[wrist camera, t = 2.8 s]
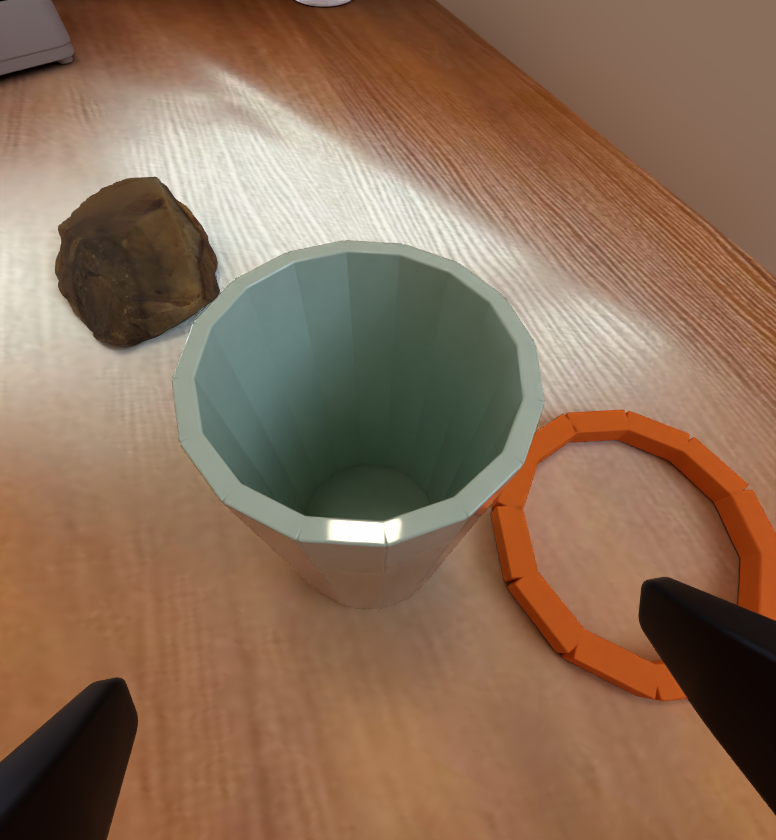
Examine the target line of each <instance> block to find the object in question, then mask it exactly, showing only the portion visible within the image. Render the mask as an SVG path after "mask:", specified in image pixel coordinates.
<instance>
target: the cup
mask: <svg viewBox="0 0 776 840" xmlns="http://www.w3.org/2000/svg"><path fill="white" fill-rule="evenodd" d="M172 387H173V396H174V404H175V412H176V421H177V429H178V437H179V442H180V444H181V447H182V448H183V450H184V451H185V453H186V454H187V455H188V457H189V458H190V460H191V461H192V462H193V464H194V465H195V466H196V468H197V469H198V471H199V472H200V473H201V475H202V476H203V478H204V479H205V480H206V482H207V483H208V485H209V486H210V487H211V489H212V490H213V491H214V493H215V494H216V496H217V497H218V498H219V500H220V501H221V502H222V503H223V504H224V505H225V506H226V507H227V508H229V509H230V510H231V511H232V512H233V513H234V514H235V515H236V516H237V517H238V518H239V519H240V520H241V521H243V522H244V523H245V524H246V525H247V526H248V527H249V528H250V529H251V530H252V531H253V532H254V533H255V534H257V535H258V536H259V537H260V538H261V539H262V540H263V541H264V542H265V543H266V544H267V545H268V546H269V547H271V548H272V549H273V550H274V551H275V552H276V553H277V554H278V555H279V556H280V557H281V558H282V559H283V560H285V561H286V562H287V563H288V564H289V565H290V566H291V567H292V568H293V569H294V570H295V571H296V572H297V573H299V574H300V575H301V576H302V577H303V578H304V579H305V580H306V581H307V582H308V583H309V584H310V585H312V586H313V587H314V588H315V589H316V590H317V591H318V592H319V593H321V594H323V595H325V596H327V597H328V598H330V599H331V600H333V601H335V602H337V603H339V604H341V605H343V606H345V607H349V608H356V609H382V608H385V607H388V606H392V605H395V604H397V603H399V602H401V601H403V600H405V599H408V598H409V597H411V596H412V595H413V594H414V593H415V592H416V591H417V590H418V589H419V588H420V587H421V586H422V585H423V584H424V583H425V582H426V581H427V580H428V579H429V578H430V577H431V576H432V575H433V574H434V573H435V571H436V570H437V569H438V568H439V567H440V565H441V564H442V563H443V562H444V560H445V559H446V558H447V557H448V556H449V554H450V553H451V552H452V551H453V550H454V548H455V547H456V546H457V545H458V544H459V542H460V541H461V540H462V539H463V538H464V536H465V535H466V534H467V533H468V532H469V530H470V529H471V528H472V527H473V525H474V524H475V523H476V522H477V521H478V519H479V518H480V517H481V516H482V515H483V513H484V512H485V511H486V510H487V509H488V507H489V506H490V505H491V504H492V503H493V501H494V500H495V499H496V498H497V496H498V495H499V494H500V493H501V492H502V490H503V489H504V488H505V487H506V486H507V484H508V483H509V482H510V481H511V480H512V478H513V477H514V476H515V475H516V474H517V472H518V471H519V470H520V469H521V467H522V465H523V464H524V463H525V460H526V457H527V454H528V451H529V448H530V445H531V442H532V439H533V436H534V434H535V431H536V428H537V425H538V422H539V419H540V416H541V413H542V410H543V407H544V394H543V388H542V381H541V375H540V368H539V362H538V355H537V348H536V345H535V342H534V340H533V339H532V337H531V336H530V334H529V333H528V331H527V330H526V328H525V327H524V325H523V324H522V322H521V321H520V319H519V318H518V316H517V314H516V313H515V311H514V310H513V308H512V307H511V305H510V304H509V302H508V301H507V299H506V298H505V297H504V296H503V295H502V294H501V293H499V292H498V291H497V290H495V289H494V288H492V287H491V286H490V285H488V284H487V283H486V282H484V281H483V280H482V279H480V278H479V277H477V276H476V275H475V274H473V273H472V272H471V271H469V270H468V269H466V268H465V267H464V266H462V265H461V264H459V263H458V264H457V262H455V261H452V260H449V259H447V258H444V257H441V256H438V255H435V254H432V253H429V252H426V251H423V250H420V249H417V248H414V247H412V246H409V245H406V244H404V245H403V244H400V243H383V242H367V241H351V240H346V241H338V242H333V243H328V244H323V245H318V246H314V247H309V248H304V249H299V250H294V251H289V252H288V253H284V254H282V255H280V256H278V257H276V258H274V259H272V260H270V261H269V262H267V263H265V264H263V265H261V266H259V267H257V268H255V269H253V270H251V271H250V272H248V273H246V274H244V275H242V276H240V277H238V278H236V279H235V281H232V282H231V283H230V284H229V285H228V286H227V287H226V289H225V290H224V291H223V292H222V293H221V294H220V295H219V296H218V297H217V298H216V299H215V300H214V301H213V302H212V303H211V304H210V305H209V306H208V307H207V308H206V310H205V311H204V312H203V313H202V314H201V315H200V316H199V317H198V318H197V319H196V320H195V321H194V324H192V327H191V329H190V332H189V335H188V337H187V340H186V343H185V345H184V348H183V350H182V353H181V356H180V358H179V361H178V364H177V366H176V369H175V372H174V374H173V380H172Z"/></svg>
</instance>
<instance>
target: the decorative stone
mask: <svg viewBox="0 0 776 840" xmlns="http://www.w3.org/2000/svg"><path fill="white" fill-rule="evenodd" d="M58 231H59V234H60V237H61V247H60V252H59V254H58V256H57V258H56V263H55V274H56V276H57V278H58V280H59V283H58V288H59V290H60V292H61V294H62V295H63V296H64V297H65V298H66V299H67V300H68V301H69V303H70V305H71V307H72V309H73V311H74V313H75V314H76V315H77V316H78V317H79V318H80V319H81V320H82V321H83V322H84V323H85V324H86V325H87V326H88V328H89V329H90V330H91V331H93V334H94V337H95V338H96V339H98V340H100V341H109V343H112V344H115V345H119V346H125V345H129V346H134V345H137V344H139V343H141V342H143V341H145V340H147V339H150V338H154V337H156V336H159V335H161V334H162V333H164V332H165V331H167V330H168V329H170V328H172V327H174V326H176V325H178V324H179V323H181V322H182V321H184V320H186V319H187V318H189V317H190V316H192V315H194V314H195V313H197V312H198V311H199V310H200V309H201V308H203V307H204V306H205V305H207V304H209V303H210V302H212V301H213V300H214V299H216V298H217V296H218V295H219V293H220V290H219V287H218V284H217V280H216V276H215V272H216V269H217V258H216V255H215V253H214V251H213V249H212V247H211V246H210V244H209V241H208V236H207V234H206V232H205V231H204V229H203V227H202V225H201V224H200V223H199V221H198V220H197V219H196V218H195V217H194V215H193V214H192V212H191V211H190V210H189V209H188V208H187V206H185V205H184V204H182V203H181V202H179V201H178V200H176V199H175V197H174V196H173V195H172V193H171V192H170V190H169V188H168V187H167V186H166V185H164V184H163V183H161V181H160V180H159V179H158V178H157V177H142V178H129V179H124V180H122V181H119V182H116V183H113V185H110V186H107V187H104V188H102V189H101V190H100V191H99V192H98V193H96V194H94V195H91V196H90V197H89V198H88V199H86V201H85V202H83V203H82V204H81V205H80V207H79V208H77V209H76V210H75V211H74V212H73V213H72V214H71V217H69V218H68V219H67V220H66V221H64V222H62V224H60V225H59V226H58Z"/></svg>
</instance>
